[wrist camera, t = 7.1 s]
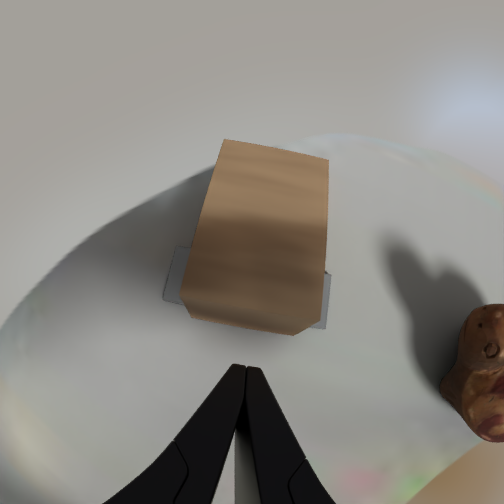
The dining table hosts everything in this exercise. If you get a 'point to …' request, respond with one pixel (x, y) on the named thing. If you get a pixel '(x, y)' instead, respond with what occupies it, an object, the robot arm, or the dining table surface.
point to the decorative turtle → (479, 373)
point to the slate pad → (179, 270)
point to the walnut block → (260, 241)
